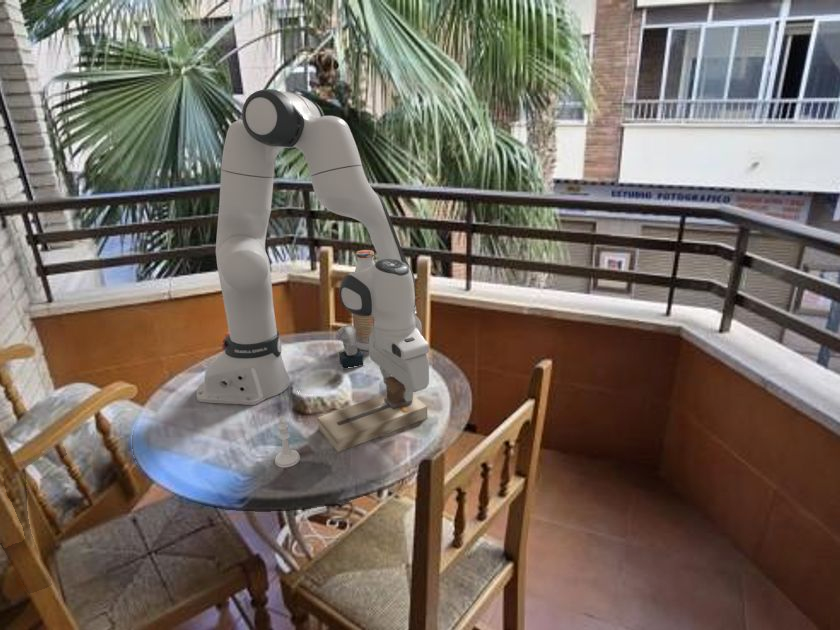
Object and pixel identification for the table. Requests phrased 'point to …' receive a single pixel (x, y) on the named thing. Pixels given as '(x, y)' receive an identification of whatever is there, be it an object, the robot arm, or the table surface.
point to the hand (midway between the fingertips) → (397, 391)
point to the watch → (349, 347)
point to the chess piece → (286, 448)
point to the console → (368, 421)
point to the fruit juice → (363, 322)
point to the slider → (395, 393)
